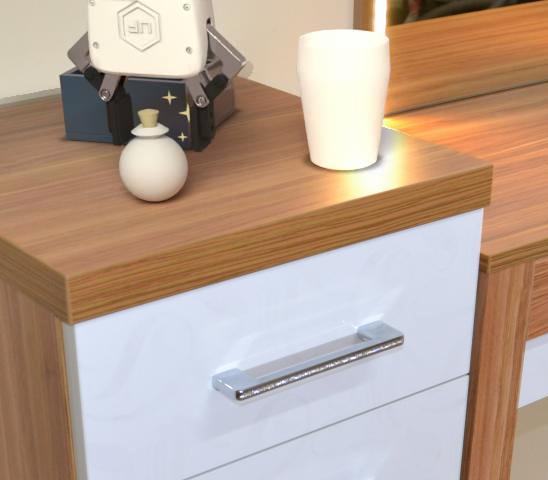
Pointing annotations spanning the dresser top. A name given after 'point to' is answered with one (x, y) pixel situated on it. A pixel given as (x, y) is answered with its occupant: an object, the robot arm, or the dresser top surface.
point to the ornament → (153, 159)
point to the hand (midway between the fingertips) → (162, 142)
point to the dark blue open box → (136, 105)
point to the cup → (343, 95)
